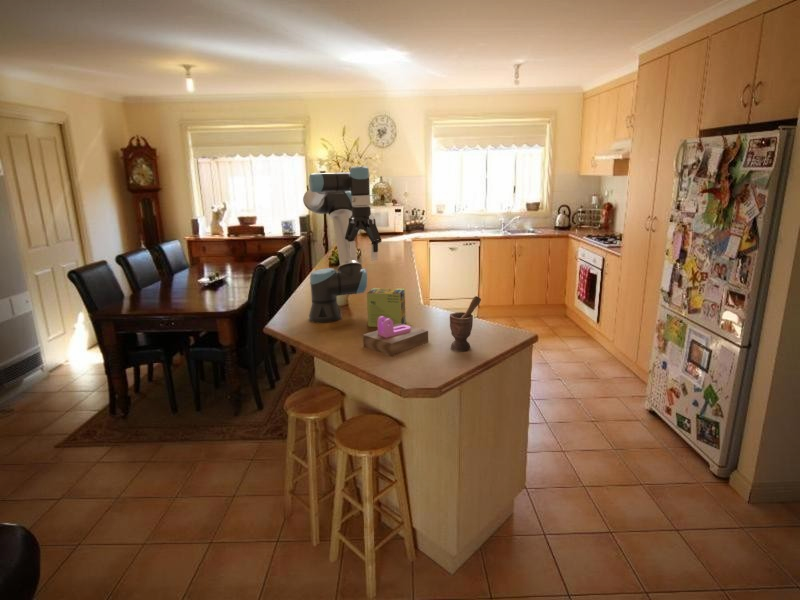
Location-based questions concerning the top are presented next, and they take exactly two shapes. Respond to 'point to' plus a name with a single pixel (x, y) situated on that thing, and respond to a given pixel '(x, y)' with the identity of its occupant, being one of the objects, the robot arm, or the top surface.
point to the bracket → (390, 327)
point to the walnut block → (395, 341)
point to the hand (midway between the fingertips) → (363, 258)
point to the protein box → (386, 305)
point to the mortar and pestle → (462, 326)
